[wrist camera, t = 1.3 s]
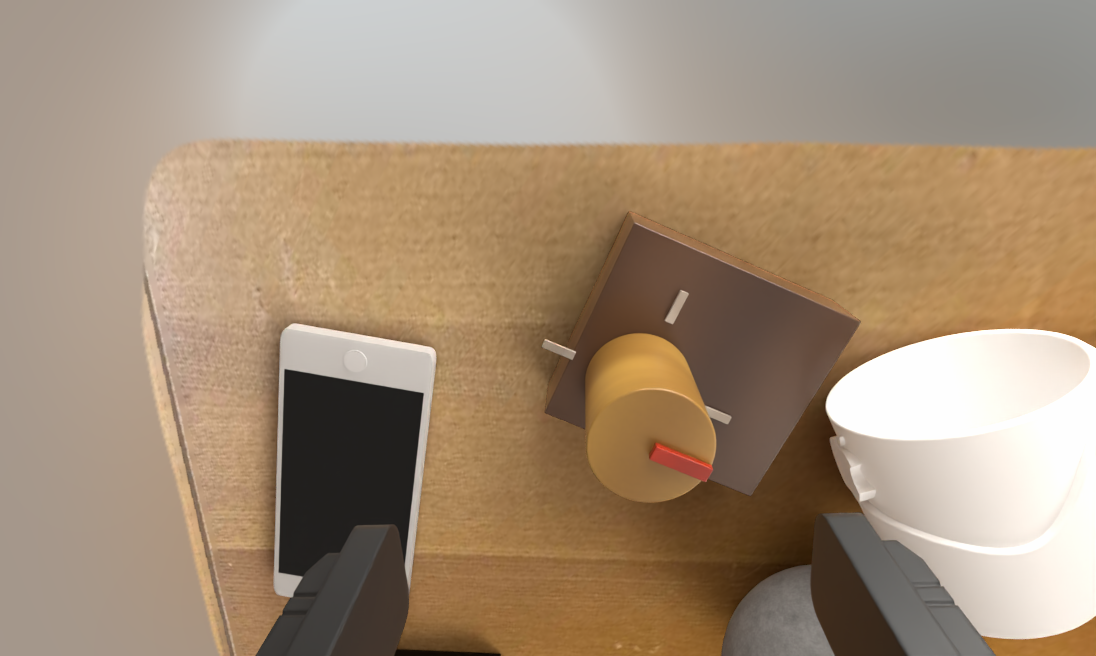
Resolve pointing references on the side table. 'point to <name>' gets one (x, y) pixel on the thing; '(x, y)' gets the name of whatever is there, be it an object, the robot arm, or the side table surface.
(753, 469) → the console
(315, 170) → the side table surface
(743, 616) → the decorative ball
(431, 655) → the button box
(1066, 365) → the mug
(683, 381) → the knob
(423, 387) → the smartphone
